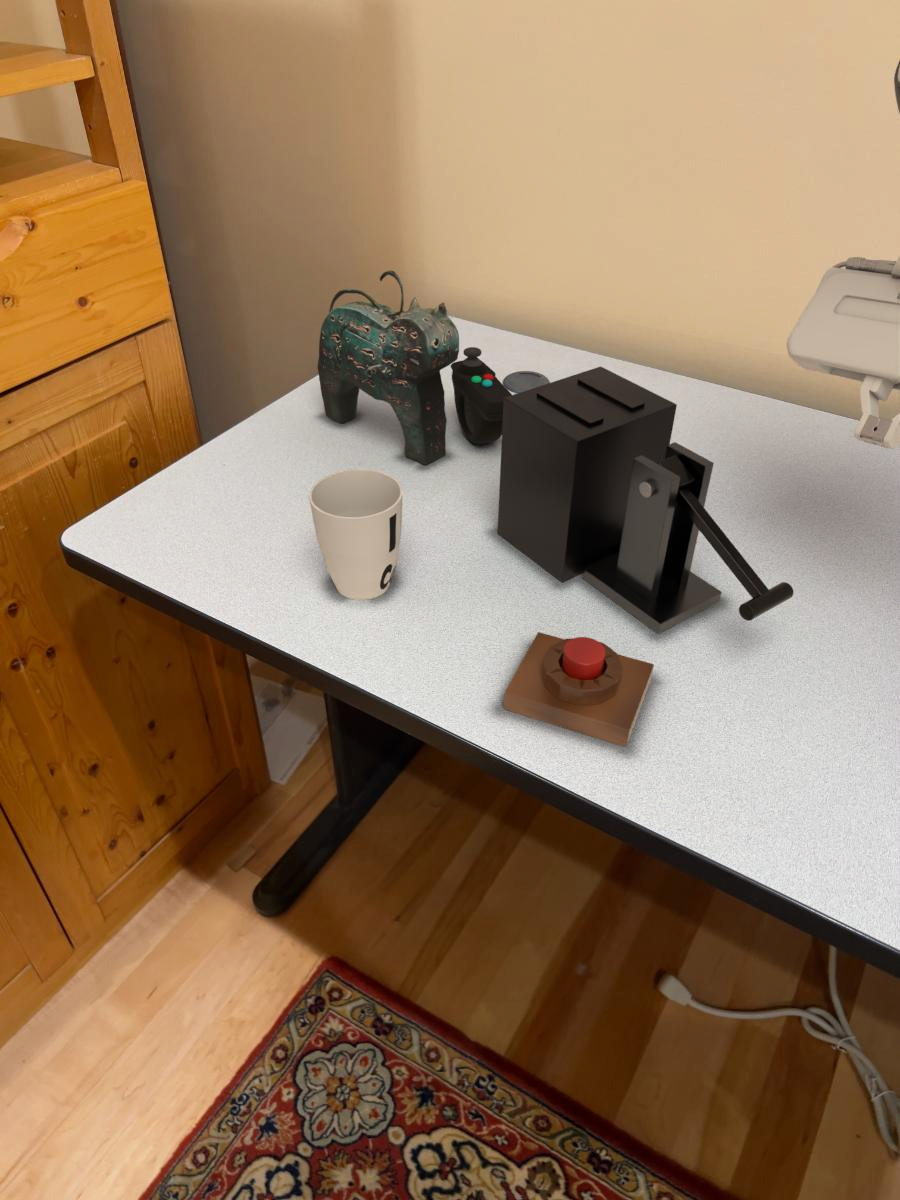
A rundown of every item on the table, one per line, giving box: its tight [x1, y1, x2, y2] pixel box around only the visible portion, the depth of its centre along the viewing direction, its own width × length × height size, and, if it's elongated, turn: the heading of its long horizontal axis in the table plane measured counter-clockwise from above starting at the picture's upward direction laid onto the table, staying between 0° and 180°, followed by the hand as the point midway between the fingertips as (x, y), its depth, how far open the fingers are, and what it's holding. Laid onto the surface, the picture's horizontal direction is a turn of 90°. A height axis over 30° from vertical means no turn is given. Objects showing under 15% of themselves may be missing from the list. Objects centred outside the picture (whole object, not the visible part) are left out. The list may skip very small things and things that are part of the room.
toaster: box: [496, 366, 678, 584], centre depth 84 cm, size 10×12×15 cm
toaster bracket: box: [581, 441, 722, 635], centre depth 78 cm, size 10×8×14 cm
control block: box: [503, 631, 655, 748], centre depth 71 cm, size 10×8×4 cm
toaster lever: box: [657, 455, 794, 622], centre depth 73 cm, size 15×5×2 cm, turn 35°
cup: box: [308, 468, 403, 601], centre depth 80 cm, size 8×8×10 cm
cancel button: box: [562, 636, 605, 680], centre depth 69 cm, size 3×3×2 cm
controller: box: [450, 346, 513, 445], centre depth 101 cm, size 4×12×10 cm, turn 21°
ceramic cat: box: [317, 270, 460, 466], centre depth 99 cm, size 20×6×20 cm, turn 46°
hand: (873, 443), depth 68 cm, fingers closed
